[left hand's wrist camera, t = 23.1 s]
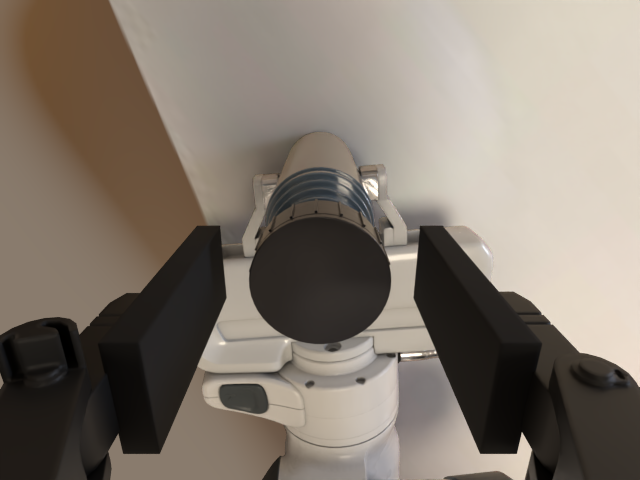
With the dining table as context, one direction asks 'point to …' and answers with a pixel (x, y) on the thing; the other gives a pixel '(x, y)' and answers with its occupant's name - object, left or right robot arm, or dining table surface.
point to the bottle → (320, 177)
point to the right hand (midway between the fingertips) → (318, 171)
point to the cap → (320, 273)
